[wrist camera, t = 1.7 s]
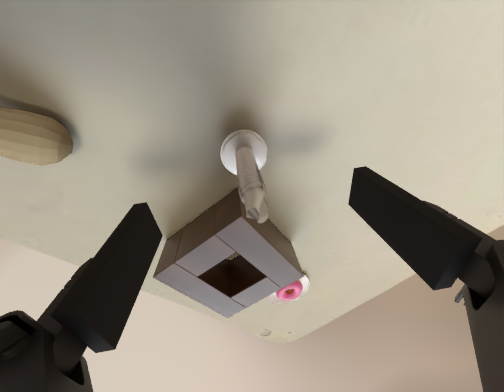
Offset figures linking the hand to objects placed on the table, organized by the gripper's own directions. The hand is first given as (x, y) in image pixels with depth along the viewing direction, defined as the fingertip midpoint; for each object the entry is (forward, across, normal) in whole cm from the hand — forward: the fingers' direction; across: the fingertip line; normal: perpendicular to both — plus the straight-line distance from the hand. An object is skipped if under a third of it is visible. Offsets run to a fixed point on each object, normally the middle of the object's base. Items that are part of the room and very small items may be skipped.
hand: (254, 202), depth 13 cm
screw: (+11, 0, 0) cm, 11 cm away
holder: (+11, -4, -13) cm, 18 cm away
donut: (+11, +3, -27) cm, 29 cm away
